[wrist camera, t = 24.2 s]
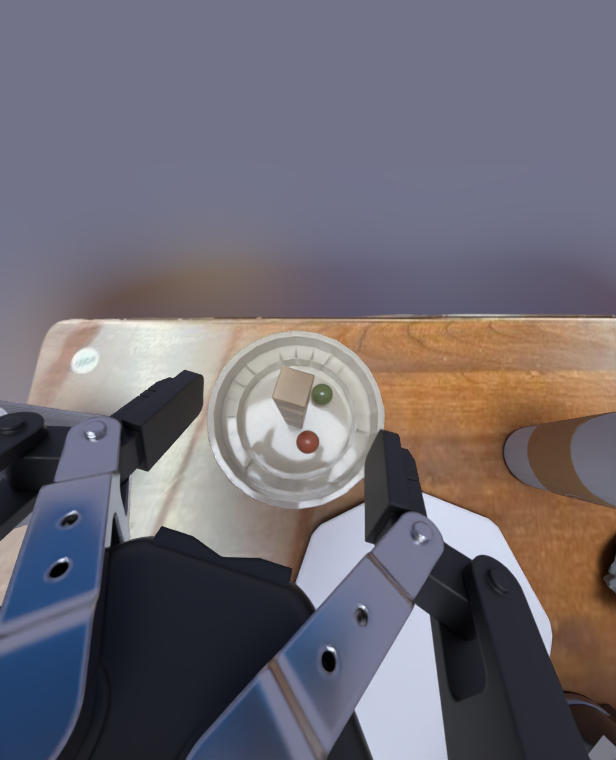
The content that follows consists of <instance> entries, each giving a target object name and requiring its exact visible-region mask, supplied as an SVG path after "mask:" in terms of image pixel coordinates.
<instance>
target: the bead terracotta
mask: <svg viewBox="0 0 616 760" xmlns="http://www.w3.org/2000/svg"><path fill="white" fill-rule="evenodd" d="M296 445H297V448H298V449H299V451H301V452H302V453H304V454H311V453H314V452H315V451H316V450H317V449H318V447H319V438H318V436H317V434H316V433H315V432H313V431H310V430H305V431H303V432H301V433H300V434H299V435H298V437H297V439H296Z"/></svg>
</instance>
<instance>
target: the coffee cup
mask: <svg viewBox="0 0 616 760" xmlns="http://www.w3.org/2000/svg"><path fill="white" fill-rule="evenodd" d="M504 457H505V461H506V464H507V466H508V468H509V470H510V471H511V472H512V473H513V474H514V475H515V476H516V477H517V478H518V479H519V480H521V481H522V482H523V483H525V484H527V485H529V486H531V487H535V488H539V489H543V490H547V491H551V492H553V493H555V494H559V495H563V496H567V497H571V498H575V499H579V500H582V501H586V502H590V503H594V504H598V505H602V506H606V507H610V508H613V509H616V412H611V413H603V414H598V415H592V416H586V417H580V418H574V419H568V420H562V421H556V422H550V423H544V424H541V425H537V426H531V427H524V428H521V429H518V430H516V431H515V432H514V433H513V434H511V436H509V438H508V439H507V441H506V443H505V446H504Z"/></svg>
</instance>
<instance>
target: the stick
mask: <svg viewBox="0 0 616 760" xmlns="http://www.w3.org/2000/svg"><path fill="white" fill-rule="evenodd" d="M314 377H315V376H314V375H313V374H309V373H306V372H302V371H299V370H295V369H292V368H288V367H285V366H282V367H281V370H280V373H279V376H278V379H277V382H276V385H275V388H274V391H273V394H272V399H273V401H274V402H275V404H276V406H277V408H278V410H279V411H280V413H281V415H282V417H283V419H284V420H285V422H286V424H288V425H292V426H295V427H298V428H302V426H303V423H304V419H305V416H306V412H307V408H308V403H309V399H310V395H311V390H312V386H313V382H314Z"/></svg>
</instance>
